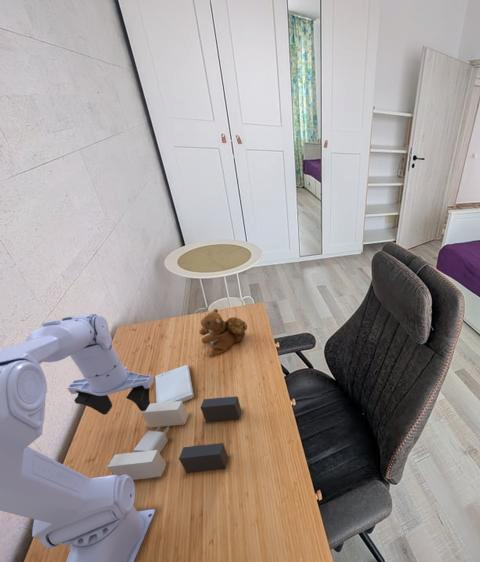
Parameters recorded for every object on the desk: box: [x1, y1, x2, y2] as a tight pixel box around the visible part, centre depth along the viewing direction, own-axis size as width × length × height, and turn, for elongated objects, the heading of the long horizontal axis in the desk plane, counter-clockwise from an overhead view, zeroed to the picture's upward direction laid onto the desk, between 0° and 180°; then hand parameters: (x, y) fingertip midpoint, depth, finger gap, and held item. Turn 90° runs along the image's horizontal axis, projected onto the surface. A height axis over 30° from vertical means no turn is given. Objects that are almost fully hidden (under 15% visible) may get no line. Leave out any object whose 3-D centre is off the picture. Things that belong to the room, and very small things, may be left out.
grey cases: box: [178, 395, 242, 474], centre depth 67 cm, size 14×8×6 cm, turn 9°
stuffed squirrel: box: [198, 308, 248, 357], centre depth 93 cm, size 10×14×13 cm
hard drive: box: [154, 364, 195, 403], centre depth 79 cm, size 2×8×12 cm
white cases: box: [107, 401, 189, 481], centre depth 65 cm, size 14×8×6 cm, turn 9°
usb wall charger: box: [132, 425, 171, 454], centre depth 65 cm, size 4×7×4 cm, turn 179°
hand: (127, 408), depth 64 cm, fingers open, 7 cm apart
